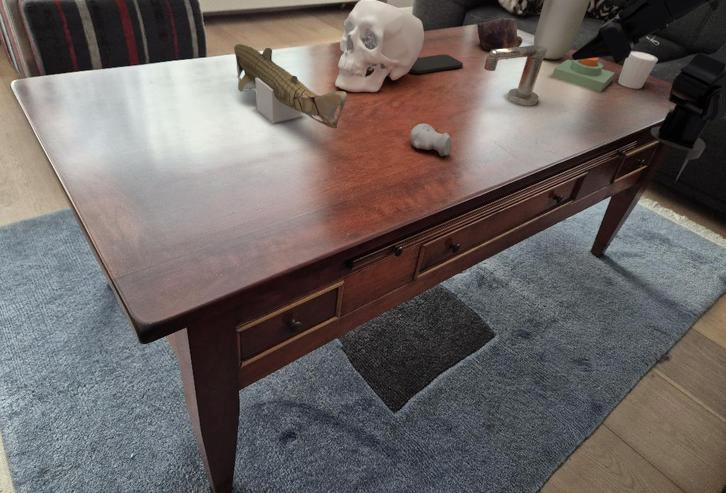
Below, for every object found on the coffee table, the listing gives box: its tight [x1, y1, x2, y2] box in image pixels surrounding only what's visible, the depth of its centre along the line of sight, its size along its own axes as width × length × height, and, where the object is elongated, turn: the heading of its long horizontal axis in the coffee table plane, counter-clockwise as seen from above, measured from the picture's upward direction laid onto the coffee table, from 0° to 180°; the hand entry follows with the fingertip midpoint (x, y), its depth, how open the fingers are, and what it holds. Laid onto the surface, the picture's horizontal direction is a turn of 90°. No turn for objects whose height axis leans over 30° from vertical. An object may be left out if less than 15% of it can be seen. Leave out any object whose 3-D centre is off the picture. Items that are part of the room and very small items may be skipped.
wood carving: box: [233, 43, 348, 129], centre depth 84 cm, size 9×35×11 cm, turn 37°
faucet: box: [507, 56, 544, 107], centre depth 102 cm, size 6×6×9 cm
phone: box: [409, 53, 464, 75], centre depth 115 cm, size 7×1×15 cm
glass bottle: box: [533, 0, 591, 60], centre depth 120 cm, size 10×10×28 cm
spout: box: [483, 44, 547, 72], centre depth 96 cm, size 15×3×4 cm, turn 119°
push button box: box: [551, 59, 616, 93], centre depth 117 cm, size 12×10×4 cm
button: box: [579, 57, 600, 67], centre depth 115 cm, size 4×4×2 cm
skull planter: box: [334, 0, 425, 93], centre depth 102 cm, size 14×20×19 cm
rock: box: [476, 17, 523, 52], centre depth 127 cm, size 12×9×10 cm
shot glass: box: [617, 50, 659, 90], centre depth 116 cm, size 7×7×7 cm
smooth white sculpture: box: [409, 123, 453, 157], centre depth 82 cm, size 4×8×5 cm
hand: (572, 57), depth 88 cm, fingers closed
